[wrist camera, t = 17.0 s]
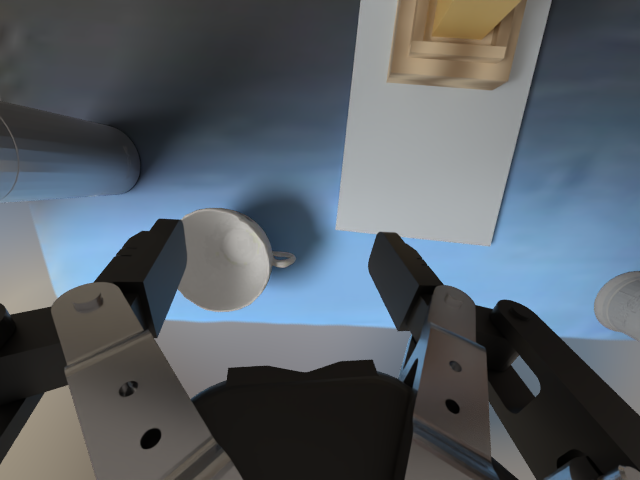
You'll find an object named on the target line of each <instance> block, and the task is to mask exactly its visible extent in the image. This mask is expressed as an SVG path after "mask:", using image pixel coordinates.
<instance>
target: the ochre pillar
mask: <svg viewBox="0 0 640 480" xmlns="http://www.w3.org/2000/svg"><path fill="white" fill-rule="evenodd" d="M520 1H521V0H437V6H436V12H435V18H434V24H433V29H432V35H431V36H433V37H447V38H462V39H476V40H482V39H483V38H484V37H485V36H486V35H487V34H488V33H489V32H490V31H491V30H492V29H493V28H494V27H495V26H496V25H497V24H498V23H499V22H500V21H501V20H502V19H503V18H504V17H505V16H506V15H507V14H508V13H509V12H510V11H511V10H512V9H513V8H514V7H515V6H516V5H517V4H518V3H519V2H520Z"/></svg>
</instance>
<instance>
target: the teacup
mask: <svg viewBox="0 0 640 480" xmlns="http://www.w3.org/2000/svg"><path fill="white" fill-rule="evenodd" d="M181 220H182V222H183V225H184V233H185V241H186V248H187V265H186V269H185V272H184V274H183V277H182V279H181V281H180V284H179V286H178V290H179V291H180V292H181V293H182V294H183V296H184V297H185V298H187V299H188V300H190V301H191V302H193V303H194V304H196V305H197V306H199V307H201V308H203V309H205V310H210V311H215V312H229V311H234V310H239V309H241V308H243V307H245V306H247V305H250V304H251V303H252V302H253V301H254V300H255V299H256V298H257V297H258V296H259V295H260V294H261V293H262V292H263V290H264V289H265V287H266V285H267V283H268V281H269V278H270V274H271V270H272V266H276V267H280V268H284V267H287V266H289V265H291V264H293V263H294V262H295V260H296V258H295V256H294V255H293V254H291V253H288V252H275V251H272V249H271V245H270V242H269V240H268V237H267V235H266V234H265V232H264V231H263V229H262V228H261V227H260V226H259V225H258V224H257V223H256V222H255V221H254V220H252V219H251V218H249V217H248V216H246V215H244V214H242V213H240V212H237V211H234V210H229V209H223V208H206V209H200V210H196V211H194V212H192V213H190V214H187V215H185V216H184V217H183V218H182V219H181ZM273 256H277V257H287V258H289V259H285V260H276V259H275V258H274V257H273Z"/></svg>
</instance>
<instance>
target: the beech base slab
mask: <svg viewBox="0 0 640 480" xmlns="http://www.w3.org/2000/svg"><path fill="white" fill-rule="evenodd" d="M526 2H527V0H521V1H520V2H519V3H518V4H517V5H516V6H515V7H514V8H513V9H512V10H511V11H510V12H509V13H508V14H507V15H506V16H505V17H504V18H503V19H502V20H501V21H500V22H499V23H498V24H497V25H496V26H495V27H494V28H493V29H492V30H491V31H490V32H489V33H488V34H487V35H486V36H485V37H484V38H483V39H482V40H476V39H462V38H447V37H433V36H431V35H432V29H433V24H434V18H435V12H436V6H437V0H397V8H396V15H395V22H394V30H393V37H392V44H391V52H390V59H389V66H388V74H387V81H386V82H387V83H400V84H413V85H426V86H439V87H452V88H465V89H479V90H494V89H496V88H497V87H499V86H501V85H502V84H504V83H506V82H508V80H509V75H510V71H511V67H512V63H513V58H514V54H515V50H516V45H517V41H518V37H519V32H520V28H521V24H522V19H523V15H524V11H525V7H526Z"/></svg>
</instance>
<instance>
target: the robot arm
mask: <svg viewBox="0 0 640 480" xmlns="http://www.w3.org/2000/svg"><path fill="white" fill-rule="evenodd" d="M139 173H140V159H139V155H138V152H137V149H136V148H135V146H134V144H133V142H132V141H131V140H130V139H129V138H128V136H126V135H125V134H124V133H123V132H122V131H120V130H118V129H116V128H114V127H111V126H107V125H103V124H99V123H94V122H90V121H85V120H82V119H77V118H73V117H69V116H64V115H60V114H55V113H51V112H47V111H42V110H38V109H33V108H29V107H25V106H20V105H16V104H11V103H7V102H3V101H0V203H6V202H20V201H35V200H49V199H63V198H77V197H94V196H107V195H119V194H123V193H125V192H127V191H129V190H130V189H131V188H132V187H133V186H134V185H135V184H136V182H137V180H138V177H139ZM186 265H187V248H186V241H185V233H184V225H183V222H182V220H175V219H158V220H157V221H156V223H155V224H154V225H153V227H152V228H151V230H150V231H141V232H139V233H138V234H136V235H134V236H133V237H131V238H129V240H128V241H127V242H126V243H125V244H124V246H123V247H122V249H120V251H119V252H118V253H117V254H116V257H114V258H113V259H112V260H111V262H110V263H109V264H108V265H107V267H106V268H105V269H104V270H103V271H102V273H101V274H100V275H99V276H98V278H97V279H96V280H95V281H94V283H89V284H85V285H81V286H78V287H76V288H73V289H71V290H69V291H67V292H66V293H64V294H63V295H61V296H60V297H59V298H58V299H57V300H56V301H55V302H54V303H53V305H52V307H47V308H42V309H38V310H32V311H27V312H22V313H17V314H12V315H10V314H9V313H8V311H7V310H6V308H5V307H4V306H3V305H2V304H0V464H1V462H2V460H3V459H4V457H5V456H6V454H7V452H8V451H9V449H10V448H11V446H12V444H13V443H14V441H15V439H16V438H17V436H18V435H19V433H20V431H21V430H22V428H23V426H24V425H25V423H26V422H27V420H28V418H29V417H30V415H31V414H32V412H33V410H34V409H35V407H36V406H37V404H38V402H39V401H40V399H41V397H42V396H43V394H44V392H46V391H50V390H53V389H56V388H59V387H63V386H66V385H69V389H70V392H71V395H72V399H73V402H74V406H75V409H76V412H77V415H78V419H79V422H80V426H81V429H82V432H83V436H84V439H85V443H86V446H87V449H88V453H89V456H90V460H91V463H92V467H93V470H94V473H95V476H96V480H518V479H517V478H516V477H515V476H514V475H512V474H511V473H510V472H509V471H508V470H506V469H505V468H504V467H503V466H502V465H501V464H500V463H498V462H497V461H496V460H495V459H494V458H493V457H491V445H490V444H491V443H490V424H489V423H490V421H489V402H490V404H491V405H492V407H493V409H494V411H495V412H496V414H497V415H498V417H499V419H500V420H501V422H502V424H503V425H504V427H505V429H506V430H507V432H508V433H509V435H510V437H511V438H512V440H513V442H514V443H515V445H516V447H517V448H518V450H519V452H520V453H521V455H522V456H523V458H524V459H525V461H526V463H527V464H528V466H529V468H530V470H531V471H532V473H533V475H534V476H535V478H536V480H640V416H639V415H638V414H637V413H636V412H635V411H634V410H633V409H632V408H631V407H630V406H629V405H628V404H627V403H626V402H625V401H624V400H623V399H622V398H621V397H620V396H619V395H618V394H617V393H616V392H615V391H614V390H613V389H612V388H610V387H609V385H608V384H606V382H604V381H603V380H602V379H601V378H600V377H599V376H598V375H597V374H596V373H595V372H594V371H593V370H592V369H591V368H590V367H589V366H588V365H587V364H586V363H585V362H584V361H583V360H582V359H581V358H580V357H579V356H578V355H577V354H576V353H575V352H574V351H573V350H572V349H571V348H570V347H569V346H568V345H567V344H566V343H565V342H564V341H563V340H562V339H561V338H560V337H559V336H558V335H557V334H556V333H555V332H554V331H552V330H551V329H550V328H549V327H548V326H547V325H546V324H545V323H544V322H543V321H542V320H541V319H540V318H539V317H538V316H537V315H536V314H535V313H534V312H533V311H531V310H530V309H528V308H527V307H525V306H523V305H521V304H519V303H517V302H514V301H511V300H500V301H499V302H498V303H497V304H496V306H495V307H494V309H490V308H485V307H481V306H477V305H475V303H474V302H473V300H472V299H471V298H470V297H469V296H468V295H467V294H466V293H464V292H463V291H461V290H459V289H457V288H454V287H452V286H447V285H443V283H442V282H441V281H440V280H439V278H438V277H437V276H436V275H435V273H434V272H433V271H432V270H431V268H430V267H429V266H427V263H426V262H425V261H424V260H422V257H421V256H420V255H419V254H418V252H417V251H416V250H415V249H413V248H412V247H410V246H409V245H408V244H405V242H404V241H403V240H402V239H401V237H400V236H399V235H398V234H397V233H396V232H379V233H378V234H377V236H376V239H375V242H374V245H373V248H372V251H371V255H370V258H369V262H368V269H369V273H370V275H371V277H372V279H373V281H374V283H375V286H376V288H377V290H378V292H379V294H380V296H381V298H382V300H383V302H384V304H385V306H386V308H387V310H388V312H389V314H390V316H391V318H392V320H393V322H394V324H395V326H396V328H397V330H398V331H410V332H411V334H412V335H411V337H410V339H409V341H408V345H407V348H406V352H405V355H404V359H403V362H402V366H401V370H400V373H399V377H398V379H397V378H395V377H392V376H390V375H388V374H385V373H382V372H378V371H376V368H375V365H374V363H373V360H359V361H358V360H357V361H341V362H337V363H334V364H331V365H328V366H325V367H323V368H319V369H317V370H313V371H310V372H298V371H293V370H287V369H282V368H277V367H271V366H252V367H237V368H236V367H235V368H228V375H227V380H226V381H223V382H221V383H218V384H216V385H213V386H211V387H209V388H207V389H205V390H204V391H202V392H200V393H199V394H197V395H196V396H194V397H193V398H192V399H190V398H189V396H188V394H187V393H186V391H185V389H184V388H183V386H182V384H181V383H180V381H179V380H178V378H177V376H176V374H175V373H174V371H173V369H172V368H171V366H170V364H169V363H168V361H167V360H166V358H165V356H164V354H163V353H162V351H161V349H160V348H159V346H158V344H157V343H156V341H155V340H154V338H157V337H158V335H159V333H160V330H161V328H162V325H163V322H164V320H165V318H166V316H167V313H168V311H169V308H170V306H171V303H172V301H173V298H174V296H175V294H176V291H177V289H178V286H179V284H180V281H181V279H182V277H183V274H184V272H185V269H186ZM519 355H520V356H521V358H522V359H523V360H524V361H525V363H526V364H527V365H528V366H529V367H530V369H531V370H532V371H533V372H534V374H535V375H536V376H537V378H538V380H539V382H540V386H541V390H540V393H539V394H538V395H537V396H536V397H535V396H534V395H533V394H532V392H531V391H530V390H529V389H528V387H527V386H526V385H525V383H524V382H523V381H522V379H521V378H520V377H519V375H518V374H517V373H516V371H515V370H514V369H513V367H512V366H511V364H512V363H513V362H514V360H515V359H516V358H517V357H518V356H519Z"/></svg>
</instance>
